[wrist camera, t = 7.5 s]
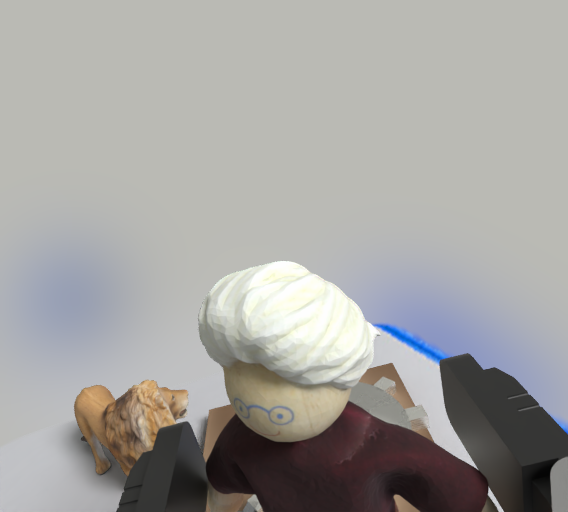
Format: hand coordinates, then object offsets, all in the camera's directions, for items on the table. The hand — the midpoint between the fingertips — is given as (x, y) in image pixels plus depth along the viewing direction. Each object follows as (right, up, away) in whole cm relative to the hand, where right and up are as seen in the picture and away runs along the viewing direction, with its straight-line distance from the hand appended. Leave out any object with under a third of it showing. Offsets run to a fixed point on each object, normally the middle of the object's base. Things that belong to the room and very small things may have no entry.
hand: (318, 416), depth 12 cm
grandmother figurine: (+2, -8, +1) cm, 8 cm away
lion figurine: (-12, -13, +23) cm, 29 cm away
